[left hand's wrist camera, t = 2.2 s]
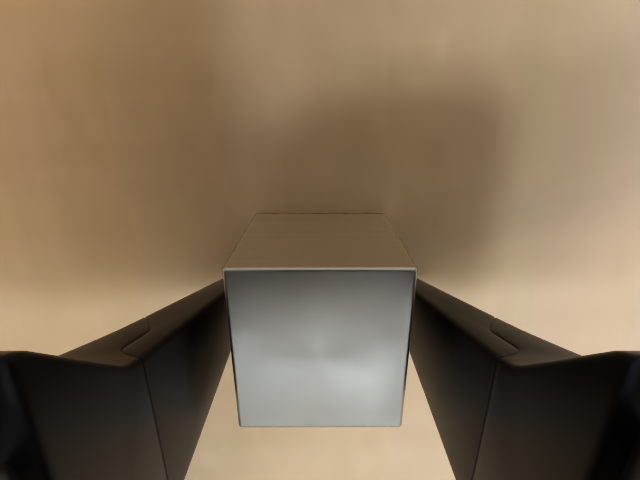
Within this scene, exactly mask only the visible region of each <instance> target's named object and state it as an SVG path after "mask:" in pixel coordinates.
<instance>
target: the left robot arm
mask: <svg viewBox="0 0 640 480" xmlns="http://www.w3.org/2000/svg"><path fill="white" fill-rule="evenodd" d="M230 351H231V345H230V336H229V326H228V317H227V308H226V298H225V289H224V280H223V279H221V280H219V281H217V282H215V283H213V284H211V285H209V286H207V287H205V288H203V289H201V290H199V291H197V292H195V293H193V294H191V295H189V296H187V297H185V298H183V299H181V300H179V301H177V302H175V303H173V304H171V305H169V306H167V307H165V308H163V309H161V310H159V311H157V312H155V313H153V314H151V315H149V316H147V317H146V318H142V319H140V320H138V321H136V322H134V323H132V324H130V325H128V326H126V327H124V328H122V329H120V330H118V331H115V332H113V333H111V334H109V335H106V336H104V337H102V338H99V339H97V340H95V341H92V342H90V343H88V344H85V345H83V346H81V347H78V348H76V349H74V350H71V351H69V352H66V353H64V354H62V355H59V356H54V355H48V354H42V353H35V352H29V351H0V480H184V479H185V476H186V473H187V470H188V468H189V465H190V462H191V459H192V456H193V454H194V451H195V448H196V445H197V443H198V440H199V437H200V434H201V432H202V429H203V426H204V423H205V421H206V418H207V415H208V412H209V409H210V407H211V404H212V401H213V398H214V396H215V393H216V390H217V387H218V385H219V382H220V379H221V376H222V374H223V371H224V368H225V365H226V362H227V360H228V357H229V354H230ZM409 351H410V354H411V357H412V360H413V362H414V365H415V368H416V371H417V373H418V376H419V379H420V382H421V385H422V387H423V390H424V393H425V396H426V398H427V401H428V404H429V407H430V409H431V412H432V415H433V418H434V420H435V423H436V426H437V429H438V431H439V434H440V437H441V440H442V443H443V445H444V448H445V451H446V454H447V456H448V459H449V462H450V465H451V467H452V470H453V473H454V476H455V478H456V480H640V351H611V352H605V353H598V354H592V355H586V356H581V355H578V354H576V353H574V352H571V351H569V350H567V349H564V348H562V347H559V346H557V345H555V344H552V343H550V342H548V341H545V340H543V339H541V338H538V337H536V336H534V335H532V334H529V333H527V332H525V331H522V330H520V329H518V328H516V327H514V326H512V325H510V324H508V323H506V322H504V321H502V320H500V319H498V318H494V317H493V316H491V315H489V314H487V313H485V312H483V311H481V310H479V309H477V308H475V307H473V306H471V305H469V304H467V303H465V302H463V301H461V300H459V299H457V298H455V297H453V296H451V295H449V294H447V293H445V292H443V291H441V290H439V289H437V288H435V287H433V286H431V285H429V284H427V283H425V282H423V281H421V280H419V279H417V280H416V289H415V299H414V308H413V318H412V328H411V337H410V347H409Z"/></svg>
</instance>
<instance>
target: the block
mask: <svg viewBox="0 0 640 480" xmlns="http://www.w3.org/2000/svg"><path fill="white" fill-rule="evenodd" d="M223 280H224V289H225V298H226V308H227V317H228V326H229V336H230V345H231V355H232V364H233V373H234V383H235V392H236V401H237V411H238V420H239V426H240V427H400V426H401V423H402V414H403V405H404V395H405V385H406V376H407V366H408V357H409V347H410V337H411V328H412V318H413V308H414V299H415V289H416V280H417V267H416V266H415V264H414V262H413V261H412V259H411V258H410V256H409V254H408V253H407V251H406V249H405V248H404V246H403V244H402V243H401V241H400V239H399V238H398V236H397V234H396V233H395V231H394V229H393V228H392V226H391V224H390V223H389V221H388V219H387V218H386V216H385V214H256V215H255V216H254V218H253V220H252V221H251V223H250V225H249V226H248V228H247V230H246V231H245V233H244V234H243V236H242V238H241V239H240V241H239V243H238V244H237V246H236V248H235V249H234V251H233V253H232V254H231V256H230V258H229V259H228V261H227V263H226V264H225V266H224V268H223Z"/></svg>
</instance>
